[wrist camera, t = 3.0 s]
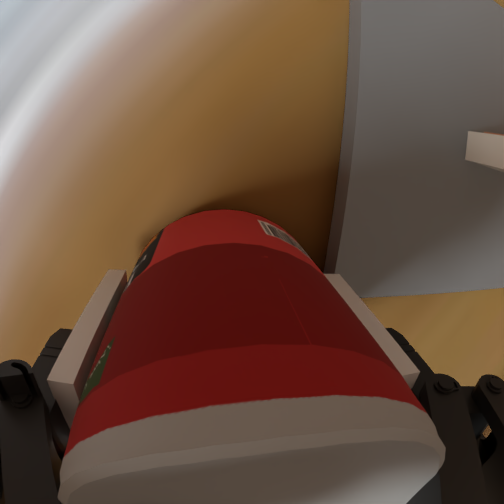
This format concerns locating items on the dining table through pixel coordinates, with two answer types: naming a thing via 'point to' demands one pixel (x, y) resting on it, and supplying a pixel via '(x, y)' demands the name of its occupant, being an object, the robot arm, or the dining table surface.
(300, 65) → the dining table surface
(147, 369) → the canned food
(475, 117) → the slate board
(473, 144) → the tile
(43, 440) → the robot arm
